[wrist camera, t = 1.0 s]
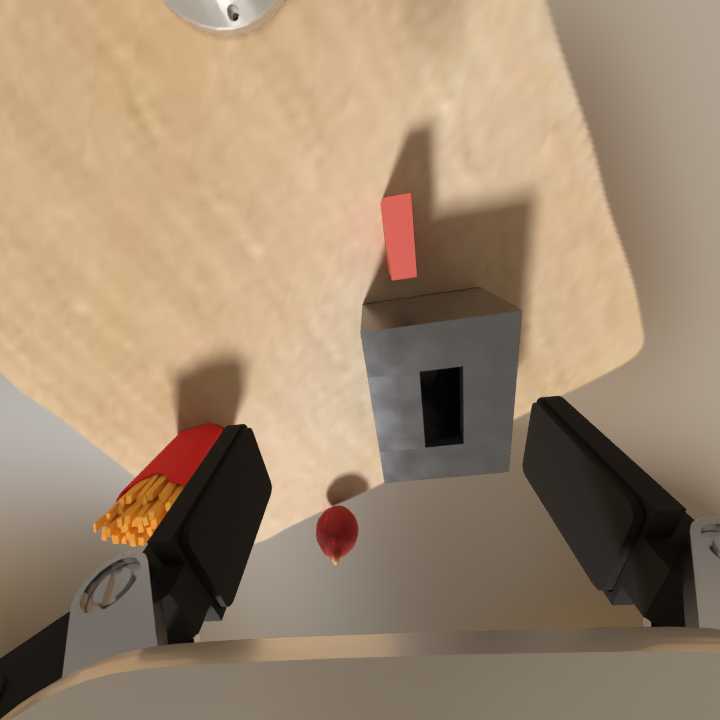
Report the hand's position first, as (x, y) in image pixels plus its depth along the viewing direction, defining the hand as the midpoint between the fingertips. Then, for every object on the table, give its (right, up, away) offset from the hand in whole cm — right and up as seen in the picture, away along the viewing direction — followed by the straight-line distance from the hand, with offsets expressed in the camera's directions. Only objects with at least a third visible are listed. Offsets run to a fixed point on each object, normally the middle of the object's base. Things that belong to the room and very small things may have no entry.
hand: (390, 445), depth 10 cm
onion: (-4, -19, +34) cm, 39 cm away
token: (+2, +15, +18) cm, 23 cm away
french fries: (-22, -8, +29) cm, 37 cm away
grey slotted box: (+6, +2, +23) cm, 24 cm away
